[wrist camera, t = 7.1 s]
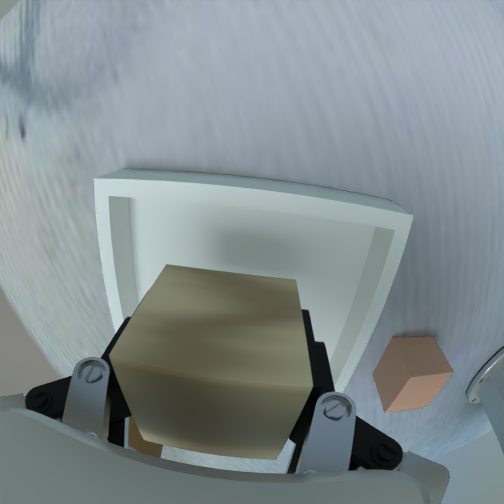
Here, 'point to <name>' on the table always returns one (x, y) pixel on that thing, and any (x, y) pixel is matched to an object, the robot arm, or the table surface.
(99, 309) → the table surface
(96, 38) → the table surface
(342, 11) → the table surface
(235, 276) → the maple block
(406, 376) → the terracotta block
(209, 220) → the tray
